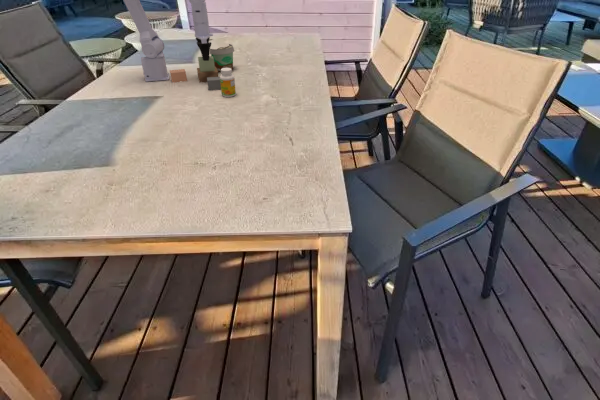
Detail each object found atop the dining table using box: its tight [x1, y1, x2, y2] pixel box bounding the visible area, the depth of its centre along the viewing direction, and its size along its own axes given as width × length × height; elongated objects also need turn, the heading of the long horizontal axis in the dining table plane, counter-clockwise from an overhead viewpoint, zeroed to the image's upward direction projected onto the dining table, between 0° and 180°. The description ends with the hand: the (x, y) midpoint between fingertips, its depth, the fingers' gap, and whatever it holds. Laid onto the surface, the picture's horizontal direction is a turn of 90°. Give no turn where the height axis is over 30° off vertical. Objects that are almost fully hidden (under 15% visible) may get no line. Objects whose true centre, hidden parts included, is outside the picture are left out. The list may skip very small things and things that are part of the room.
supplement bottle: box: [219, 68, 237, 98], centre depth 142 cm, size 5×5×10 cm
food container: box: [209, 43, 235, 73], centre depth 168 cm, size 12×6×10 cm, turn 143°
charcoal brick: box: [206, 76, 221, 91], centre depth 150 cm, size 6×4×4 cm, turn 102°
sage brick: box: [197, 55, 215, 72], centre depth 157 cm, size 6×4×5 cm, turn 108°
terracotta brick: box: [169, 68, 188, 83], centre depth 158 cm, size 6×4×4 cm, turn 112°
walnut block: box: [196, 67, 220, 83], centre depth 160 cm, size 8×8×4 cm
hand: (205, 58), depth 156 cm, fingers open, 7 cm apart
